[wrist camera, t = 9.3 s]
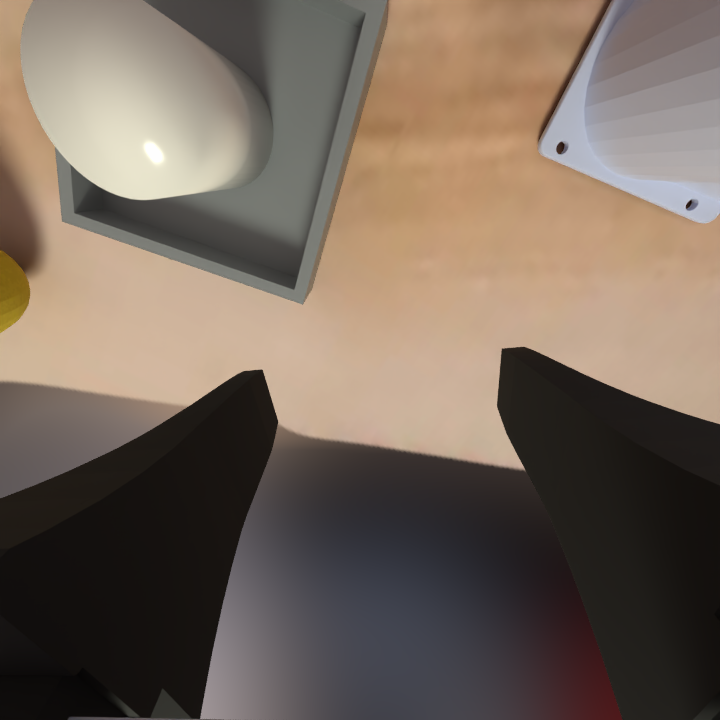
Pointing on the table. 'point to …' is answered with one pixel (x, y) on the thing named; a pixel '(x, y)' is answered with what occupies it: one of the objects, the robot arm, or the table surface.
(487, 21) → the table surface
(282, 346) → the table surface
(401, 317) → the table surface
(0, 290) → the lemon
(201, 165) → the capsule
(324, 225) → the tray
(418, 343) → the table surface
